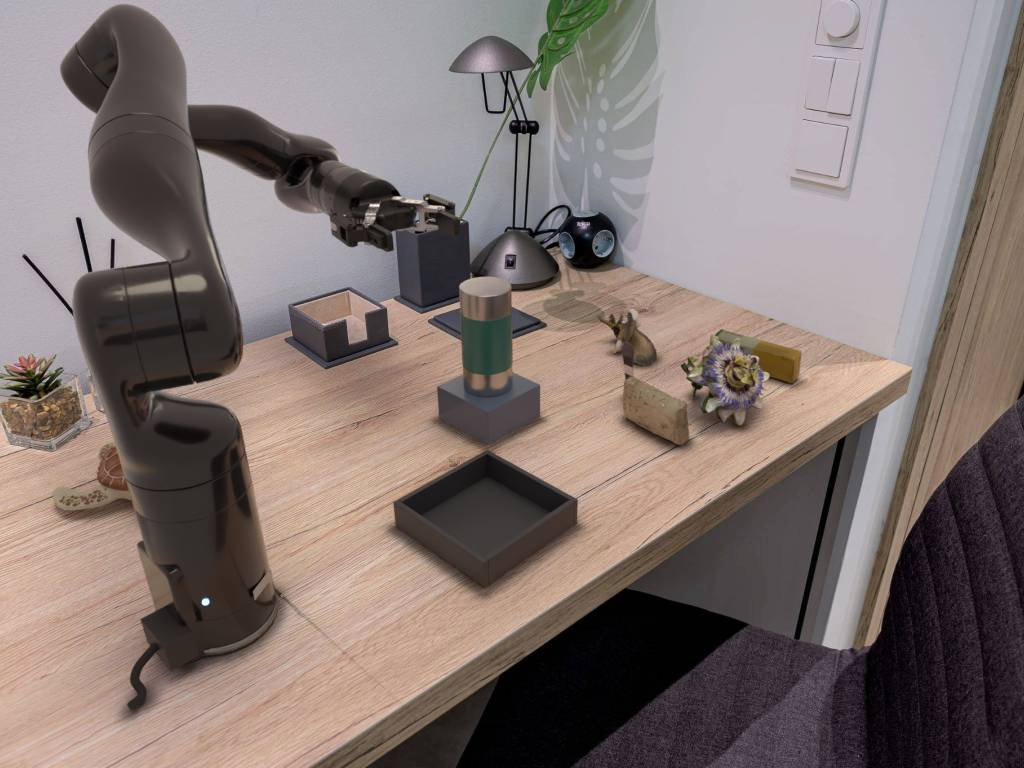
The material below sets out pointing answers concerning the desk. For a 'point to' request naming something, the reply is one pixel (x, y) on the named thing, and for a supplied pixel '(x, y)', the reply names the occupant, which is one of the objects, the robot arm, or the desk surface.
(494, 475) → the tray
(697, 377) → the passion flower
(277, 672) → the desk surface
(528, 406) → the stand
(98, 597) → the desk surface
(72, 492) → the decorative turtle
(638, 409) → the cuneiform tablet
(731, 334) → the medication box
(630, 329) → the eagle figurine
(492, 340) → the can
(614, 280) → the desk surface
